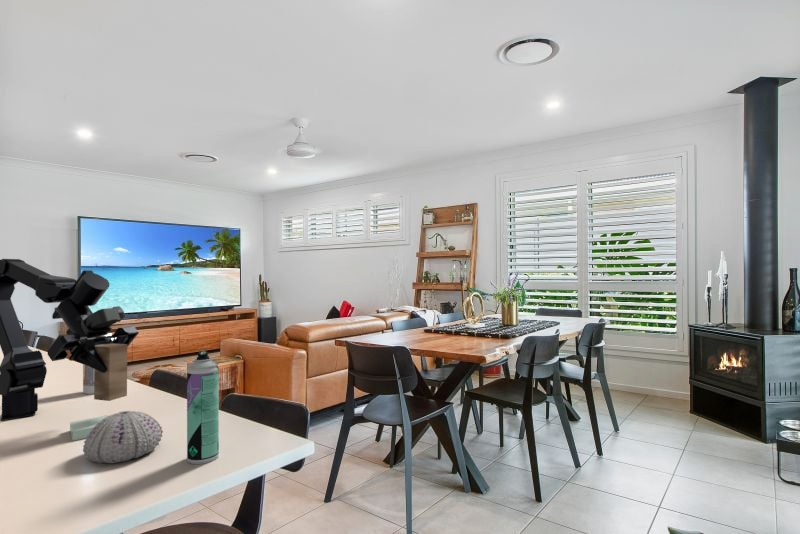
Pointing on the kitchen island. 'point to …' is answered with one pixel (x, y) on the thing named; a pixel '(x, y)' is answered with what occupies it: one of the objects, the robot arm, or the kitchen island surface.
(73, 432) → the green plinth
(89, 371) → the bath foam
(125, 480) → the kitchen island surface
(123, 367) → the walnut block
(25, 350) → the robot arm
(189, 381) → the spray can
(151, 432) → the sea urchin shell
